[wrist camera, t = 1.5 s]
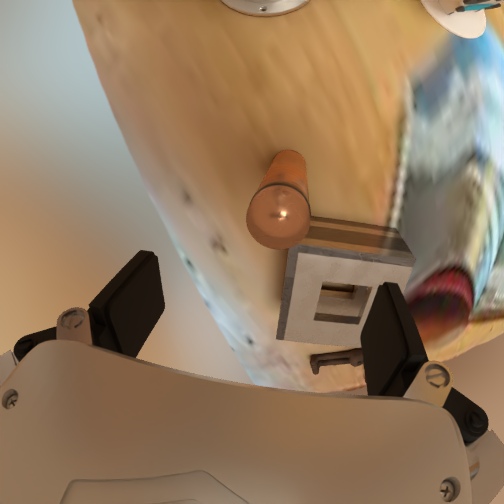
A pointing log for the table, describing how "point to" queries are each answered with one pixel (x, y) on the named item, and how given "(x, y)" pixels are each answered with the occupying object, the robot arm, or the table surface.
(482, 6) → the panda figurine
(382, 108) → the table surface
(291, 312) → the frame
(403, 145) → the table surface
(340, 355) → the bear figurine
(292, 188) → the tube
